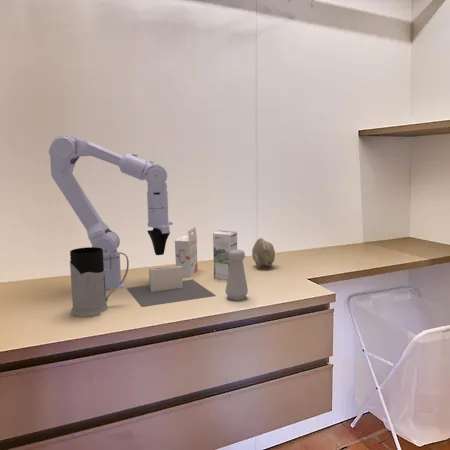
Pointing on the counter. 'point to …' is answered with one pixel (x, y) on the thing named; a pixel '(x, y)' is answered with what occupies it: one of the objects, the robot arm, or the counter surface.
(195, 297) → the mat
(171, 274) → the block
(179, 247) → the ink cartridge box
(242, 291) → the salt shaker
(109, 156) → the robot arm
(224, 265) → the syrup box
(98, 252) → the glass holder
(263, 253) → the rock
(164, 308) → the counter surface
